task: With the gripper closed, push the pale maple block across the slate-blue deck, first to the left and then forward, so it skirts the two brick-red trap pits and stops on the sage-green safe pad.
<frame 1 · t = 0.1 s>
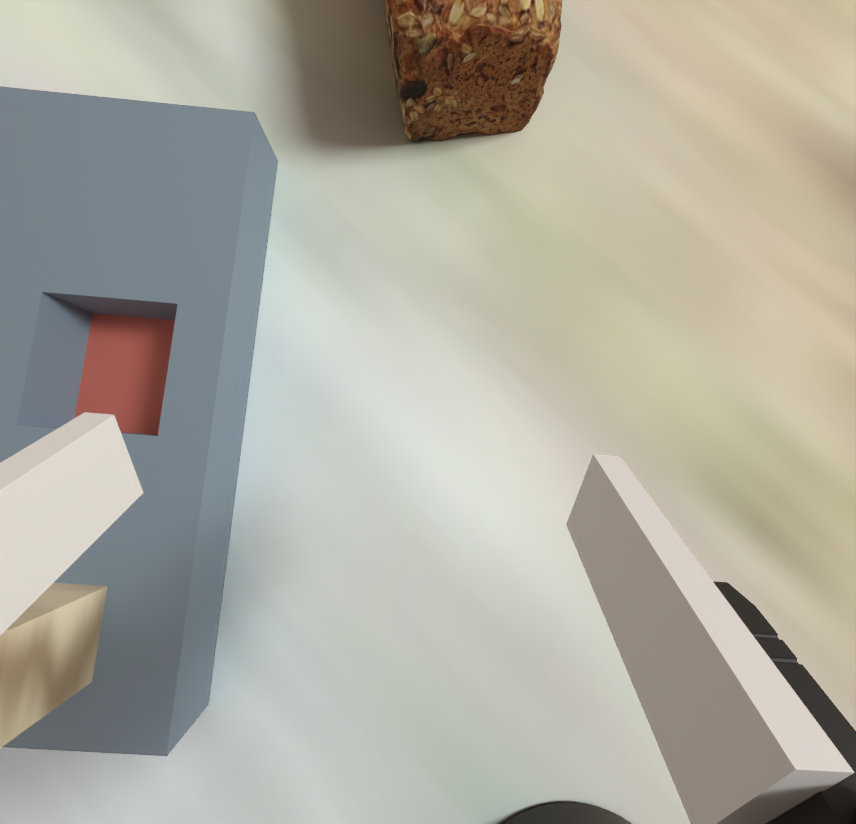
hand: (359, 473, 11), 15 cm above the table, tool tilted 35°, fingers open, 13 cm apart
bread: (448, 41, 30), on the table
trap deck: (9, 393, 25), on the table
maple block: (53, 630, 20), point 4 cm above the table, touching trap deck
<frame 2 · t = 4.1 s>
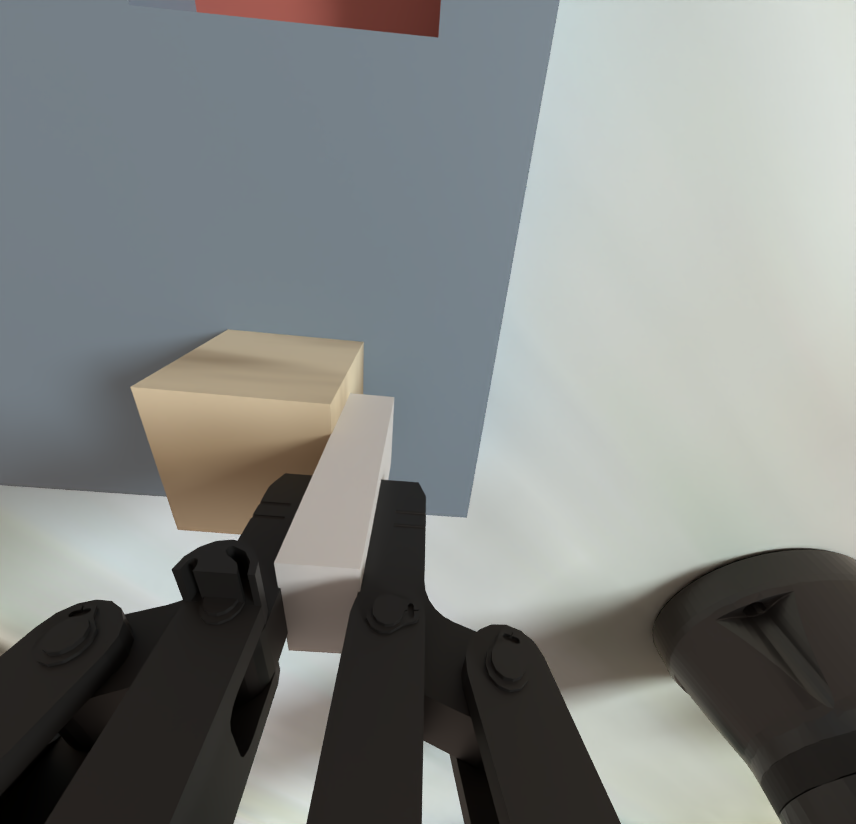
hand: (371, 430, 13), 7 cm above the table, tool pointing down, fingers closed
maple block: (301, 395, 15), point 4 cm above the table, touching gripper
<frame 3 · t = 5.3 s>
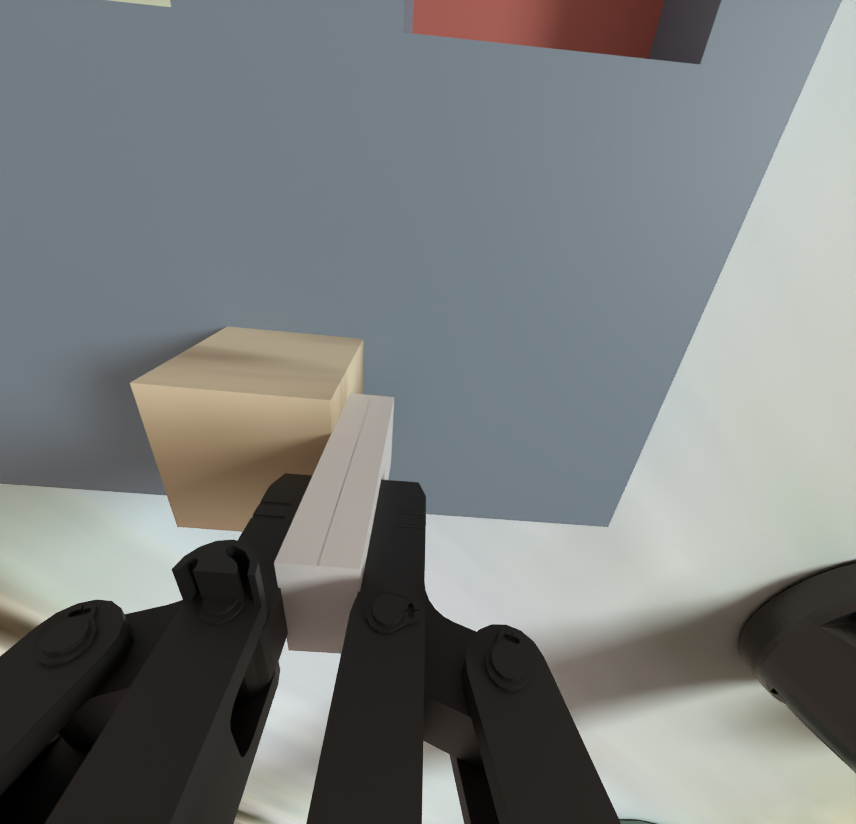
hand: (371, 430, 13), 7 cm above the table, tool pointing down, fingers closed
maple block: (301, 393, 15), point 4 cm above the table, touching gripper
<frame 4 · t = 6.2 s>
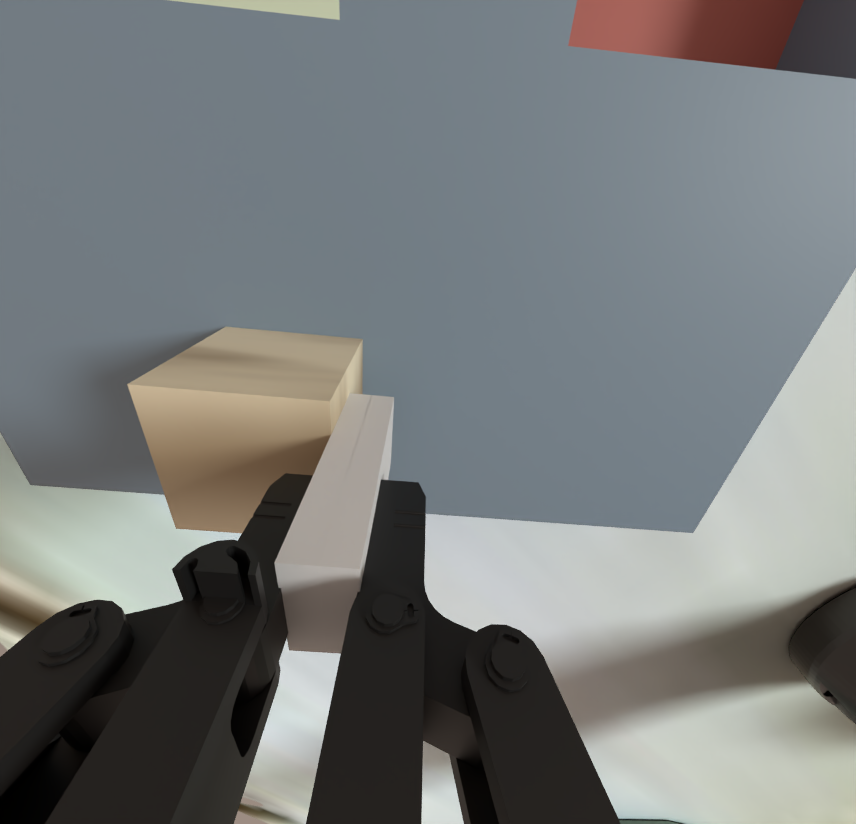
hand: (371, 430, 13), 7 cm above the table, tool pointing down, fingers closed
maple block: (300, 393, 15), point 4 cm above the table, touching gripper
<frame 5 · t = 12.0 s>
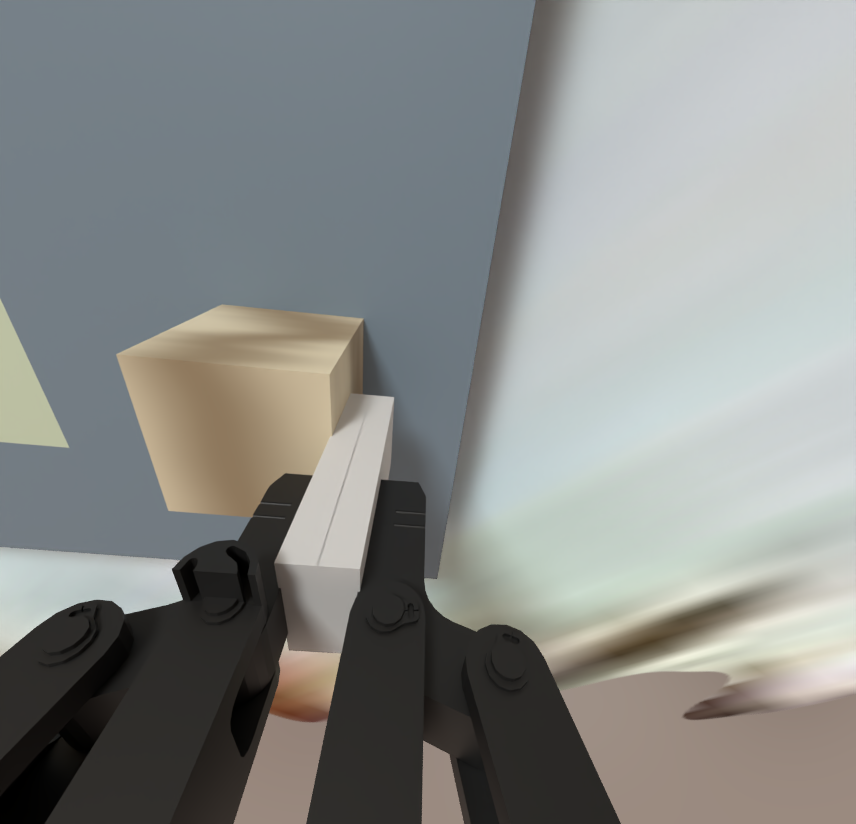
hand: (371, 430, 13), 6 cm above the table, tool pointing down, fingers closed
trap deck: (19, 208, 15), on the table
maple block: (298, 375, 14), point 4 cm above the table, touching gripper
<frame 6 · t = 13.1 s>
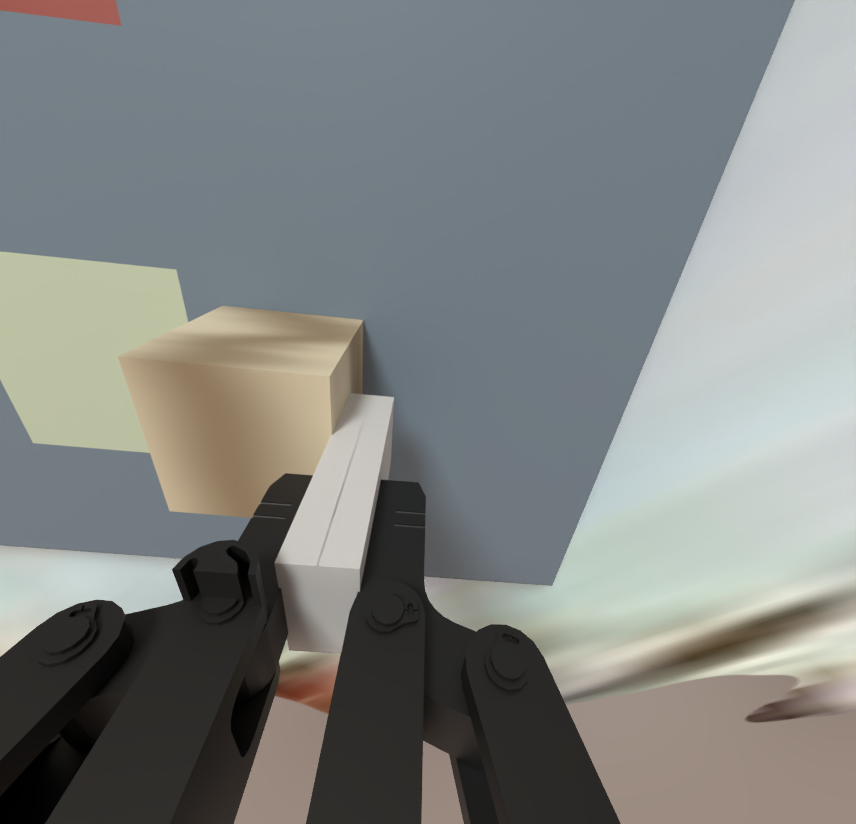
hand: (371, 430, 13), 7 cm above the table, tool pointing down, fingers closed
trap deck: (179, 224, 15), on the table
maple block: (298, 376, 14), point 4 cm above the table, touching gripper
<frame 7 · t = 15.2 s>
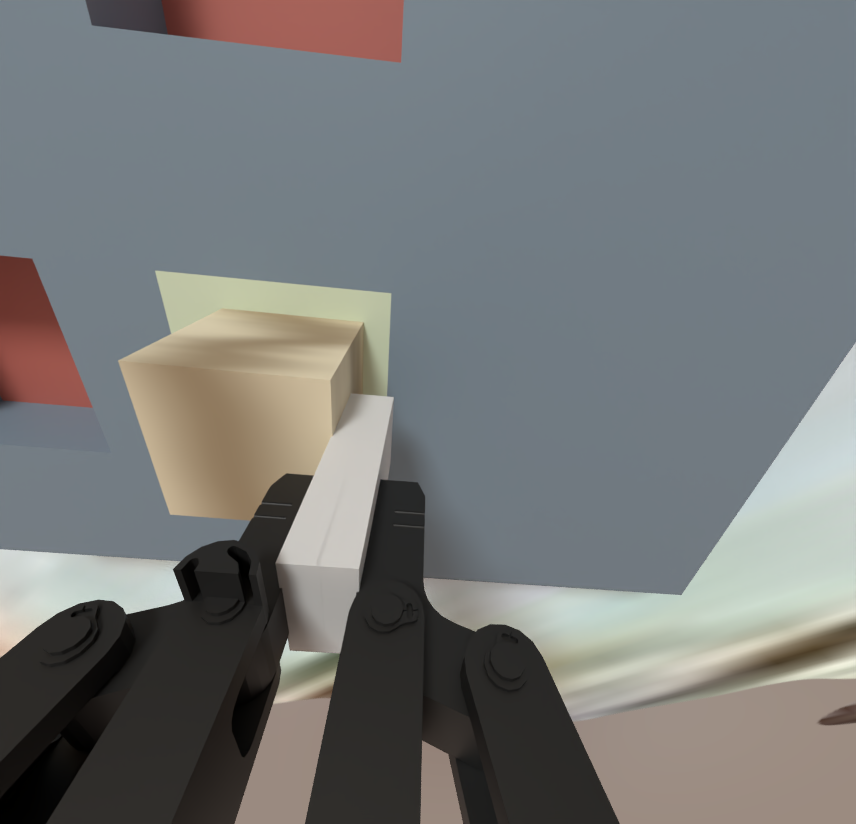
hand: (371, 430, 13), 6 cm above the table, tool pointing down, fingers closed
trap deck: (354, 244, 16), on the table
maple block: (298, 378, 14), point 4 cm above the table, touching gripper, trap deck
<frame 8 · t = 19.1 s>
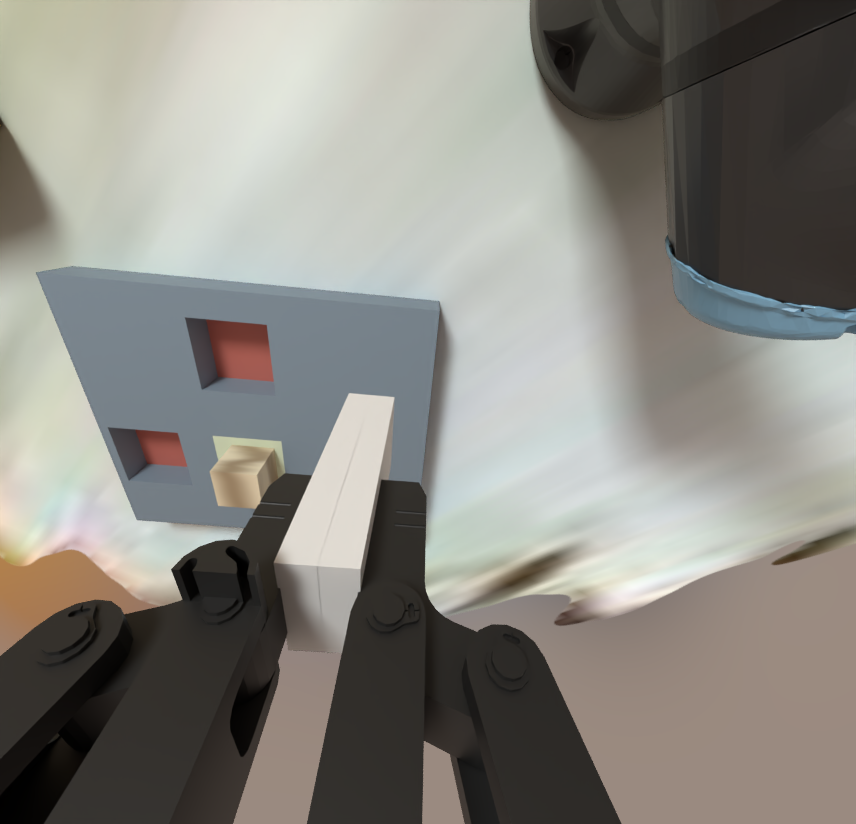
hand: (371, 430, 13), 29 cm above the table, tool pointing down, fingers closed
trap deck: (275, 415, 47), on the table
maple block: (255, 463, 45), point 4 cm above the table, touching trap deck
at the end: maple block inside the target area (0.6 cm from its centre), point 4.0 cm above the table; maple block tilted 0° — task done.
